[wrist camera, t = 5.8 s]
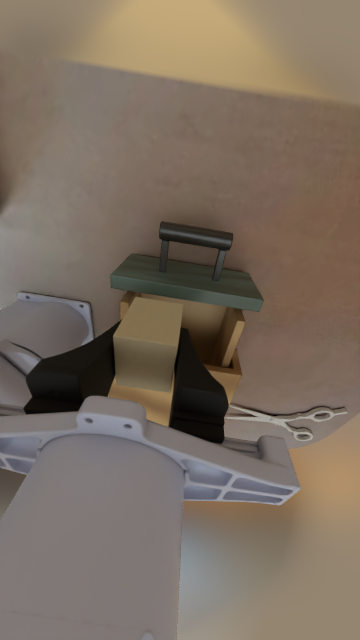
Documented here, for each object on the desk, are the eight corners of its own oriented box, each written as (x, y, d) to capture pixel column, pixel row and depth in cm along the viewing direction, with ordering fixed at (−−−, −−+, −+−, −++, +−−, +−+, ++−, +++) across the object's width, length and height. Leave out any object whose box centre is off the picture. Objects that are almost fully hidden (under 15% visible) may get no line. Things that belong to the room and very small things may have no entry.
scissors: (316, 443, 40) (214, 428, 39) (314, 439, 40) (214, 424, 40) (348, 411, 34) (229, 394, 33) (345, 407, 34) (229, 390, 34)
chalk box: (134, 339, 18) (115, 385, 14) (135, 296, 16) (112, 335, 12) (176, 346, 18) (170, 393, 14) (183, 303, 16) (178, 345, 12)
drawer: (131, 210, 20) (107, 218, 14) (262, 232, 20) (285, 248, 15) (130, 347, 29) (115, 382, 24) (218, 361, 30) (222, 399, 24)
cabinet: (128, 312, 27) (104, 354, 21) (231, 329, 27) (242, 375, 21) (128, 383, 35) (111, 430, 29) (208, 395, 36) (210, 445, 29)
